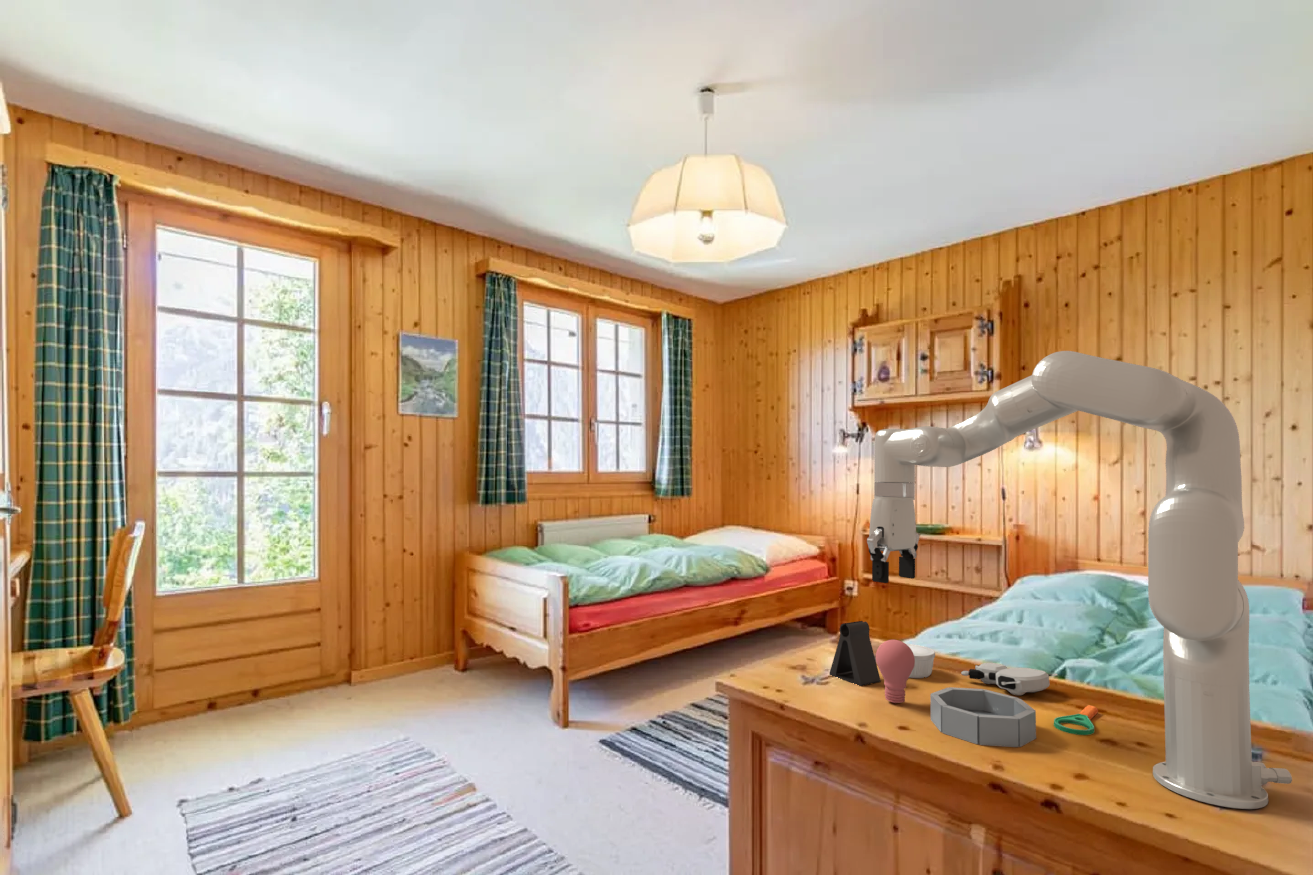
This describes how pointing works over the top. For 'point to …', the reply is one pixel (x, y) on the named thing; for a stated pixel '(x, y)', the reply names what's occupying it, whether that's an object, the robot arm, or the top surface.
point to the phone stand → (855, 655)
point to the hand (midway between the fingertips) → (893, 579)
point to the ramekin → (922, 661)
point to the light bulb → (895, 668)
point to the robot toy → (1010, 677)
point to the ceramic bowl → (983, 717)
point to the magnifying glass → (1078, 721)
